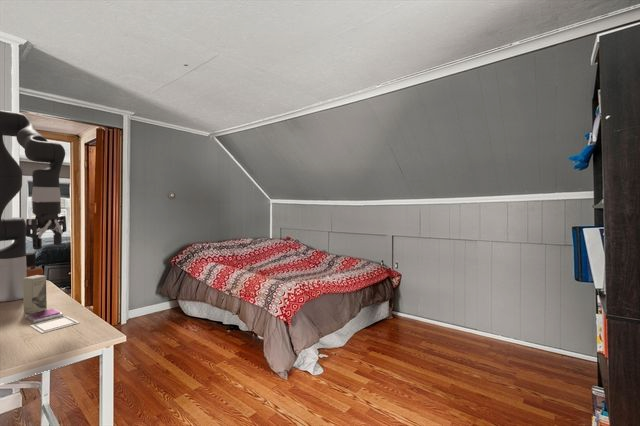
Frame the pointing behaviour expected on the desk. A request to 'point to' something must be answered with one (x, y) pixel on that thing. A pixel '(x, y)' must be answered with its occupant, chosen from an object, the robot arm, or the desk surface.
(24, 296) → the box
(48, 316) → the ink pad
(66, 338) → the desk surface
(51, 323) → the paper
